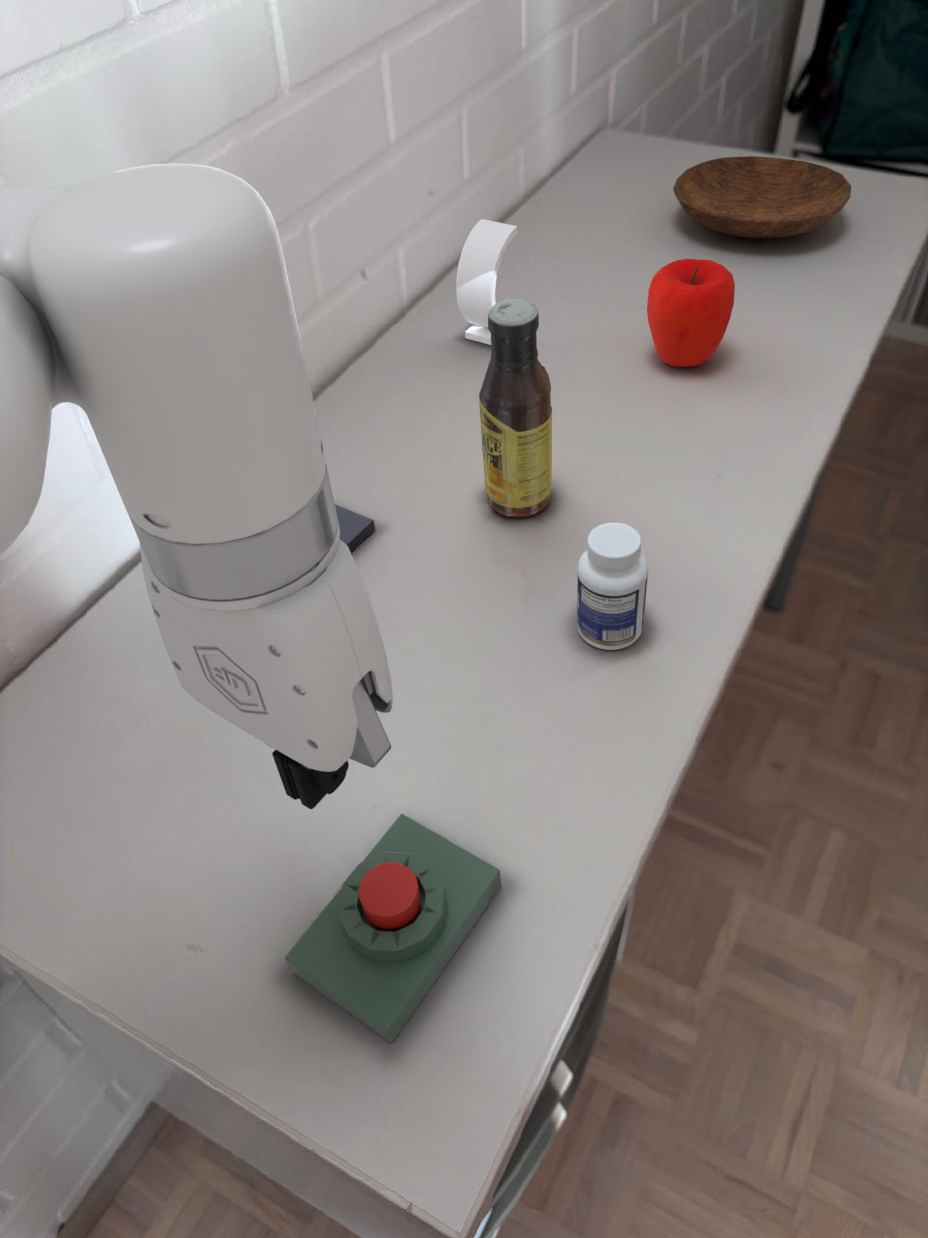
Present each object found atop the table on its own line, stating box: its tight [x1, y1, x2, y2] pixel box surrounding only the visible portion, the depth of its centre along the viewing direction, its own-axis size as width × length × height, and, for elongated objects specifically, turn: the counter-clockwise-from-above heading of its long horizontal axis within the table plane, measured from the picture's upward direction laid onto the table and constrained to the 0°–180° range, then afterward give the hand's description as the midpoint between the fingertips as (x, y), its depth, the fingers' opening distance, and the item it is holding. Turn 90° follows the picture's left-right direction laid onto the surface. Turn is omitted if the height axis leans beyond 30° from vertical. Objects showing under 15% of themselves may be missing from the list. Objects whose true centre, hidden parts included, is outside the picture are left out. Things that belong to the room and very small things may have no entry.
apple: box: [646, 258, 736, 368], centre depth 100 cm, size 9×9×11 cm
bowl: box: [672, 155, 852, 239], centre depth 123 cm, size 20×22×5 cm
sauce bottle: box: [478, 298, 553, 518], centre depth 82 cm, size 7×6×20 cm
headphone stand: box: [455, 218, 518, 346], centre depth 106 cm, size 5×6×12 cm
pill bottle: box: [576, 522, 649, 651], centre depth 74 cm, size 5×5×10 cm
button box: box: [284, 813, 502, 1044], centre depth 60 cm, size 12×8×4 cm, turn 146°
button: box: [359, 862, 421, 929], centre depth 58 cm, size 4×4×2 cm
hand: (318, 782), depth 50 cm, fingers closed
